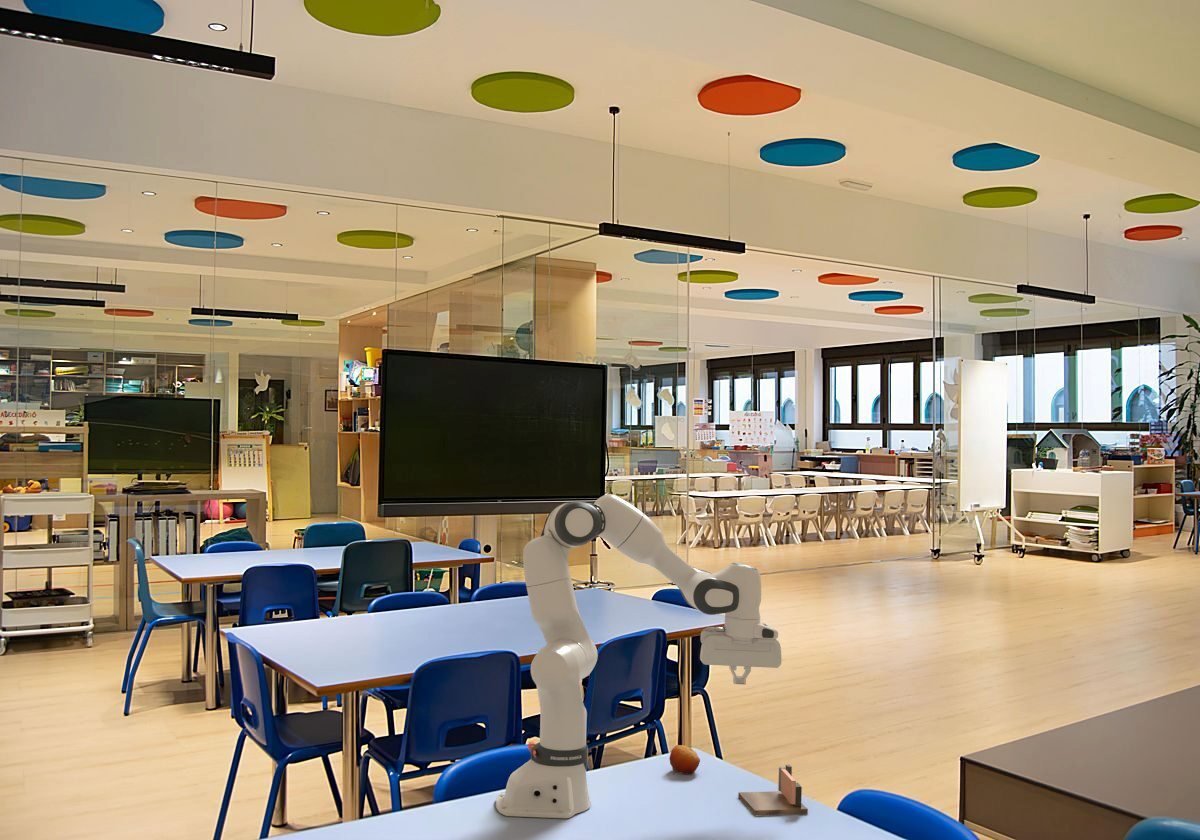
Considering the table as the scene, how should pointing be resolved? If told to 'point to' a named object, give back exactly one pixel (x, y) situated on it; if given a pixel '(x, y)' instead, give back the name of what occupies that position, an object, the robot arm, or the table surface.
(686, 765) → the fruit
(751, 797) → the gate frame
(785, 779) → the gate
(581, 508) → the robot arm
